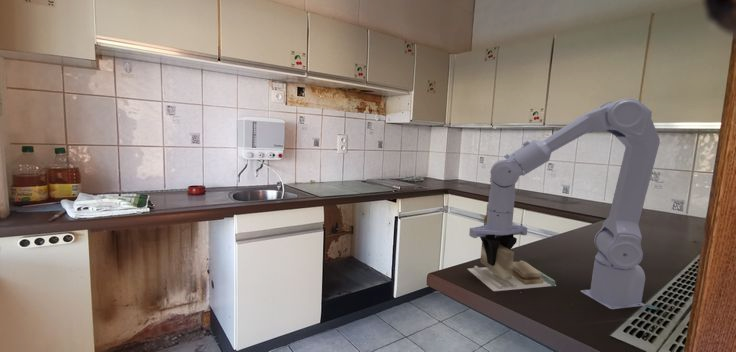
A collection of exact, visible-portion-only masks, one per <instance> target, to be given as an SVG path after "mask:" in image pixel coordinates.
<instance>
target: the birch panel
mask: <svg viewBox="0 0 736 352" xmlns="http://www.w3.org/2000/svg"><path fill="white" fill-rule="evenodd" d="M514 257H515V252H514V251H512V249H511V250H509V249H508V248H506V247H504V246H502V245H501V244H499V247H498V250H497V253H496V262H495V265H494V266H491V265H490V264H489V263H487V256H486V251H485V248H484V245H483V242H482V241H481V251H480V262H479V263H480V264H482V265H484V266H485V267H488V268H489V269H490V270H492V271H493V272H494V273H496V274H497V275H498V276H500V277H501V278H502V279H504V280H505V279H512V269H513V262H514Z"/></svg>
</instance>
